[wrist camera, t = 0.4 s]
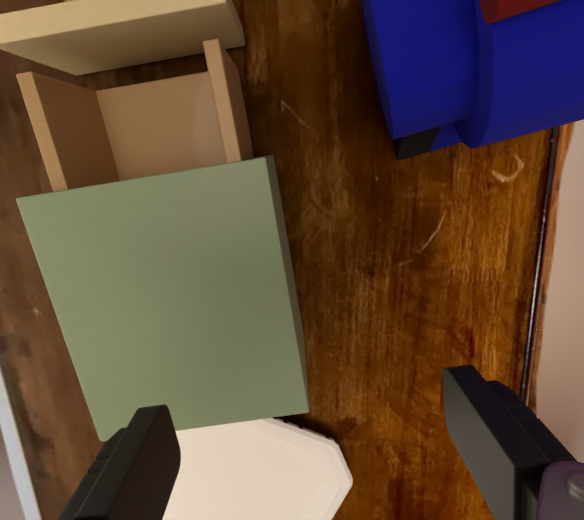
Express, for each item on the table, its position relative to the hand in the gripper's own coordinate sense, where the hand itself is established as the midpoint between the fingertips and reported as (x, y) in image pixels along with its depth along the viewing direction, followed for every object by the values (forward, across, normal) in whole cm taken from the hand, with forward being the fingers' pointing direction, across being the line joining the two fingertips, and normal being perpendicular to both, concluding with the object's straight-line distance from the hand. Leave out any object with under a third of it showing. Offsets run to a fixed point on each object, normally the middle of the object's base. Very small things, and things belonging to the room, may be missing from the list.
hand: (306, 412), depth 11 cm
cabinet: (+19, +7, 0) cm, 21 cm away
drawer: (+19, +7, -10) cm, 22 cm away
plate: (+19, +11, +22) cm, 31 cm away
